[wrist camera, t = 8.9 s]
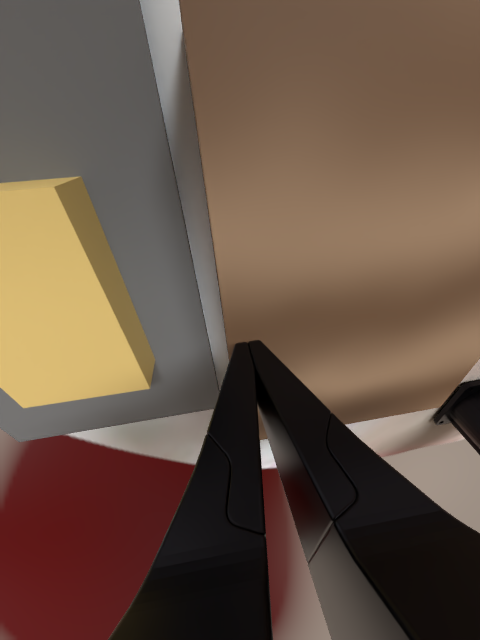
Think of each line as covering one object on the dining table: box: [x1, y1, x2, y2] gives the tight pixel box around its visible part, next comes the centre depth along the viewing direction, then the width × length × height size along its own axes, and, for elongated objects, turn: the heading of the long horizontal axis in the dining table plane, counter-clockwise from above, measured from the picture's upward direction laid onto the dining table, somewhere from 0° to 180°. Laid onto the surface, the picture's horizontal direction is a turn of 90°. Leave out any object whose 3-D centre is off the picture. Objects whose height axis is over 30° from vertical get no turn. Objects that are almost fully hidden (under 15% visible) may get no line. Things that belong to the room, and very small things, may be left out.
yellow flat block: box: [0, 176, 155, 408], centre depth 10 cm, size 9×6×2 cm, turn 3°
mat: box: [0, 0, 219, 442], centre depth 11 cm, size 20×14×1 cm
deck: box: [179, 0, 480, 440], centre depth 10 cm, size 16×12×4 cm
